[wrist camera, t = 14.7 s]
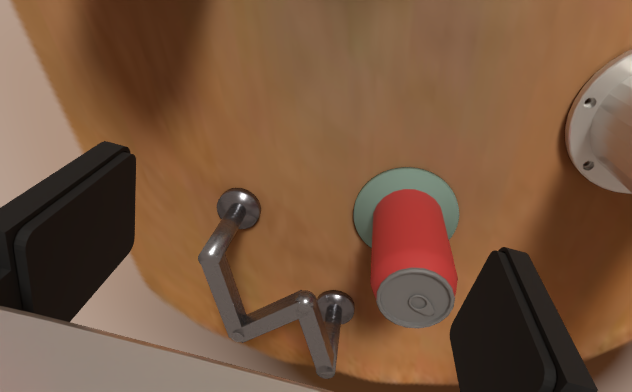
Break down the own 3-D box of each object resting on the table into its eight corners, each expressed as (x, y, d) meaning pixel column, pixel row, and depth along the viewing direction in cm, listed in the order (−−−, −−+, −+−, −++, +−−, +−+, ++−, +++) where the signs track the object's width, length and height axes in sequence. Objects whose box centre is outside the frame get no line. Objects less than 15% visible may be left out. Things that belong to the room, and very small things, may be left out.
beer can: (403, 255, 44) (410, 346, 33) (358, 214, 42) (350, 296, 32) (456, 218, 41) (482, 305, 30) (410, 172, 39) (420, 248, 29)
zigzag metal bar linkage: (387, 233, 43) (388, 296, 35) (347, 324, 50) (340, 394, 42) (223, 182, 43) (185, 233, 35) (204, 280, 50) (169, 342, 42)
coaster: (476, 186, 40) (477, 188, 39) (433, 267, 45) (433, 270, 44) (373, 153, 40) (373, 156, 39) (341, 238, 44) (341, 241, 44)
